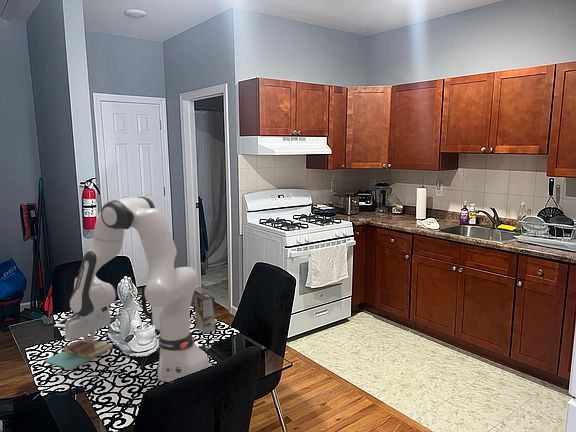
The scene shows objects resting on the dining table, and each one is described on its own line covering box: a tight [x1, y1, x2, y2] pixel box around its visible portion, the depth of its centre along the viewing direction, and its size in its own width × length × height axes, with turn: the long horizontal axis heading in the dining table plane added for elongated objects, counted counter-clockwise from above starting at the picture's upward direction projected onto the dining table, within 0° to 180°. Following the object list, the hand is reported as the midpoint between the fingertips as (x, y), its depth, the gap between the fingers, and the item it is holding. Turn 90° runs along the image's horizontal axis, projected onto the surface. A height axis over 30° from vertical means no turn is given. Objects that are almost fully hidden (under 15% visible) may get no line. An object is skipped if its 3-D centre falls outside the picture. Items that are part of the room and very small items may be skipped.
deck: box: [63, 338, 113, 361], centre depth 179 cm, size 16×11×2 cm
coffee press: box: [141, 284, 164, 331], centre depth 199 cm, size 17×16×30 cm
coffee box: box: [194, 292, 216, 334], centre depth 200 cm, size 9×6×16 cm
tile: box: [65, 339, 94, 355], centre depth 176 cm, size 9×6×2 cm, turn 64°
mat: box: [43, 350, 91, 371], centre depth 170 cm, size 16×9×1 cm, turn 64°
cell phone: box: [53, 313, 76, 328], centre depth 212 cm, size 9×18×1 cm, turn 171°
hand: (89, 342), depth 180 cm, fingers closed
